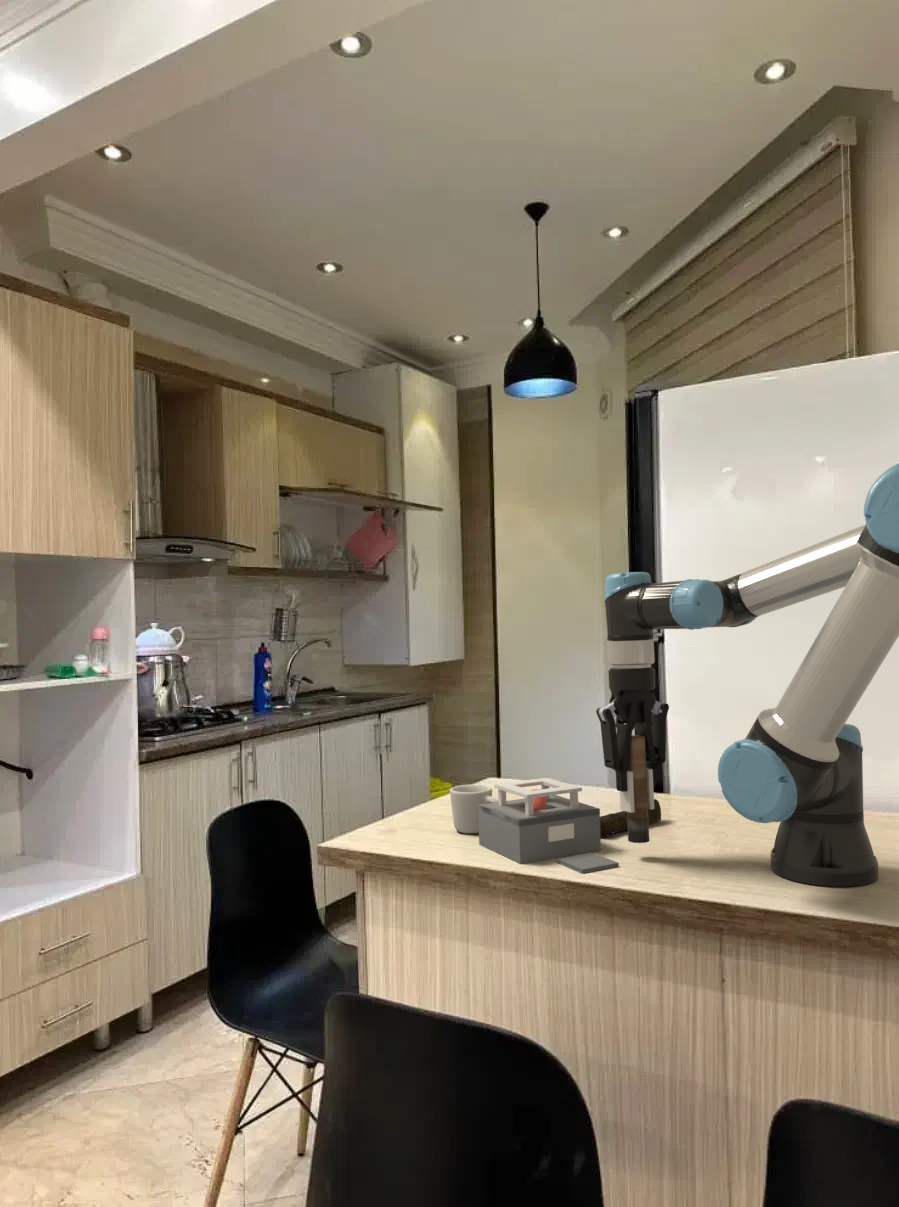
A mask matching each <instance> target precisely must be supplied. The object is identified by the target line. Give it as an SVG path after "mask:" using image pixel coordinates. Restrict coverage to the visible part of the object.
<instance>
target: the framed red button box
mask: <svg viewBox="0 0 899 1207" xmlns="http://www.w3.org/2000/svg"><path fill="white" fill-rule="evenodd" d="M493 785H494V786H493V788H494V789H497V790H498V792H497V794H498V795H497V796H498V799H497V800H498V802H495V803H488V804H480V805H478V816H479V833H478V843H479V846H482V847H484V848H486V849H488V850H490V851H492V852H495V853H496V854H498V855H501V856H502V857H505V858H507V859H510V860H511V861H514V862H516V863H518V864H520V865H522V864H526V863H532V862H538V861H544V860H550V859H551V860H552V859H554V858H555V859H556V858H563V857H569V856H572V855H573V856H575V855H581V854H586V853H592V852H596V851H601V849H602V844H601V843H602V842H601V840H602V838H601V837H600V817H601V812H600V811H601V809H600V808H598V807H596V806H592V805H589V804H587V803H583V802H579V792H582V791H583V787H581V786H579V785H574V784H572V783H571V784H570V783H567V782H562V781H560V780H557V779H553V778H549V777H540V778H532V779H525V780H518V781H509V782H502V783H501V782H499V783H495V784H493ZM534 786H541V790H534V789H533V790H534V791H531V790H532V789H527V788H528V787H534ZM507 793H508V794H512V795H515V796H518V797H520V798H519V799H512V800H507ZM565 794H569V798H567V797H564V796H560V795H565ZM543 796H546V804H547V809H545V810H538V811H533V798H535V797H543Z"/></svg>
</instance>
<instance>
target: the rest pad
mask: <svg viewBox="0 0 899 1207" xmlns="http://www.w3.org/2000/svg"><path fill="white" fill-rule="evenodd" d="M556 860H557V862H556V863H557V864H560V865H562V866H564V867H567V868H570V869H572V870H574V871H576V872H578V873H581V874H586V873H591V872H597V871H603V870H607V869H613V868H617V867H618V868H619V866H620V864H619V862H618V861H615V860H612V859H609V858H608V857H605V856H602V855H601V854H597V853H595V852H586V853H581V854H575V855H573V856H572V855H569V856H564V857H558V858H557V859H556Z"/></svg>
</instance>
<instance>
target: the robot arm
mask: <svg viewBox="0 0 899 1207" xmlns="http://www.w3.org/2000/svg"><path fill="white" fill-rule="evenodd" d="M863 516H864V520H865V524H863V525H861V526H858V527H856V528H853V529H850V530H848V531H845V532H843V533H840V534H838V535H836V536H833V537H830V538H828V539H825V540H822V541H819V542H818V543H815V544H812V545H810V546H808V547H805V548H802V549H800V550H797V551H795V552H792V553H790V554H787V555H785V556H782V557H779V558H776V559H774V560H771V561H769V562H767V563H764V564H761V565H759V566H756V567H754V568H751V569H748V570H747V571H744V572H742V573H739V574H736V575H734V576H731V577H729V578H727V579H726V578H725V579H724V580H717V581H715V580H714V581H713V580H712V581H711V580H708V579H699V578H698V579H697V578H696V579H691V578H689V579H685V580H678V581H666V582H657V583H656V582H652V579H651V578H652V577H651V574H650V573H649V572H645V571H633V572H632V571H631V572H617V573H611V574H609V575H607V577H606V579H605V585H604V586H605V588H604V590H605V591H604V601H603V603H604V605H605V620H606V632H607V637H606V639H607V641H606V643H607V644H606V645H607V664H609V666H611V668H609V669H607V670H608V673H607V674H608V688H609V690H610V693H611V695H610V699H609V703H608V704H607V705H606V706H604V707H598V708H596V711H595V712H596V715H597V718H598V721H599V723H600V731H601V732H600V733H601V742H602V743H601V744H602V752H603V762H604V763H603V764H604V766H605V767H606V768H608V769H610V770H612V771H613V770H614V771H615V785H616V786H615V788H616V790H617V791H618V792H619V802H620V803H619V804H620V811H627V812H630V813H632V812H635V809H634V786H633V772H632V771H628V769H629V759H630V749H631V738H632V735H633V730H634V729H635V730H636V735H641V736H645V752H646V775H647V798H648V809H654V799H655V795H654V788H656V786H657V774H656V773H657V772H656V771H657V769H660V767H661V764H665V762H666V760H667V758H666V757H667V753H666V751H667V715H668V713H669V709H670V705H669V704H668V703H665V702H660V701H657V699H656V695H655V694H654V690H655V689H656V670H655V668H654V667H652V665H653V664H654V663H655V662H656V661H655V646H654V643H655V642H654V641H655V640H654V631H655V630H686V629H687V630H690V631H692V630H693V631H694V630H702V629H706V628H707V629H708V628H737V627H743V626H745V625H749V624H751V623H752V622H753V621H755V620H757V618H759V617H761V616H762V615H765V614H769V613H773V612H774V611H777V610H781V609H784V608H786V607H790V606H792V605H796V604H798V603H801V602H804V601H807V600H810V599H813V598H816V597H818V596H821V595H825V594H828V593H831V592H833V591H836V590H840V589H842V592H841V594H840V596H839V597H838V599H837V601H836V602H835V604H834V606H833V607H832V609H831V611H830V613H829V615H828V616H827V618H826V620H825V622H824V623H823V625H822V626H821V628H820V630H819V631H818V633H817V636H816V638H814V641H813V643H812V644H811V646H810V648H809V649H808V651H807V653H806V655H805V657H804V658H803V660H802V661H801V664H800V665H799V666H798V669H797V670H796V672H795V674H794V675H793V677H792V679H791V681H790V683H789V685H788V687H787V688H786V690H785V691H784V693H783V694H782V697H781V698H780V700H779V701H778V703H777V705H776V707H772V708H768V709H763V710H761V711H760V713H759V714H758V715H757V718H756V719H755V720H754V722H753V724H752V726H751V728H750V730H749V731H748V733H747V735H746V736H745V738H744V739H740V740H736V741H734V742H733V743H732V744H731V745H729V746H728V747H727V748H726V749H724V751H723V753H722V754H721V756H720V759H719V762H718V765H717V779H718V783H719V784H720V788H721V792H722V795H723V796H724V798H725V800H726V801H727V803H728V805H729V806H731V808H732V809H733V810H734V811H735V812H736V813H738V814H739V815H741V817H744V818H745V819H746V820H749V821H752V822H755V823H761V824H769V823H770V824H771V823H779V826H778V829H777V832H776V835H775V836H776V837H775V839H774V844H773V847H772V849H771V851H770V869H771V871H772V872H773V873H774V874H776V875H777V876H779V877H782V878H785V879H788V880H790V881H795V882H799V883H804V884H809V885H814V886H815V885H816V886H817V885H818V886H823V887H824V886H825V887H856V886H863V885H867V884H871V883H874V882H876V881H877V880H878V879H879V861H878V859H877V857H876V855H875V854H874V850H873V846H872V844H871V841H870V838H869V835H868V833H867V829H866V826H865V820H864V819H865V818H864V816H865V815H864V781H863V780H864V778H863V777H864V775H863V774H864V773H863V752H864V746H863V745H862V737H861V732H860V729H859V728H858V727H857V726H856V725H853V724H850V723H849V724H847V723H846V722H847V721H848V719H849V717H850V716H851V714H852V713H853V711H854V709H855V708H856V706H857V705H858V703H859V701H860V700H861V698H862V696H863V695H864V693H865V691H866V690H867V688H868V686H869V685H870V684H871V682H872V680H873V678H874V677H875V675H876V674H877V672H878V670H879V668H880V667H881V665H882V664H883V662H884V661H885V660H886V657H887V656H888V654H889V653H890V651H891V649H892V647H893V646H894V644H895V642H896V641H897V639H899V462H898V463H896V464H894V465H893V466H891V467H889V468H888V469H886V470H885V471H883V472H882V473H881V475H879V476H878V477H877V478H876V479H875V481H874V482H873V483H872V485H871V487H870V488H869V490H868V491H867V494H866V497H865V500H864V504H863ZM843 588H844V589H843ZM615 717H616V718H615Z"/></svg>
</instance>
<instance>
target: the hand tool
mask: <svg viewBox="0 0 899 1207" xmlns="http://www.w3.org/2000/svg"><path fill="white" fill-rule="evenodd" d="M648 820H649V827H650V826H652V825H655V824H657V823H658V822H660V821H661V820H662V807H661V804H660V801H659V800H657V799H656V798H654V809H648ZM625 830H628V824H627V811H623V810H620V811H618V812H615V813H608V814H604V815H600V837H601V839H604V838H605V837H610V835H611V834H614V833H617V832H620V831H625Z"/></svg>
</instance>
